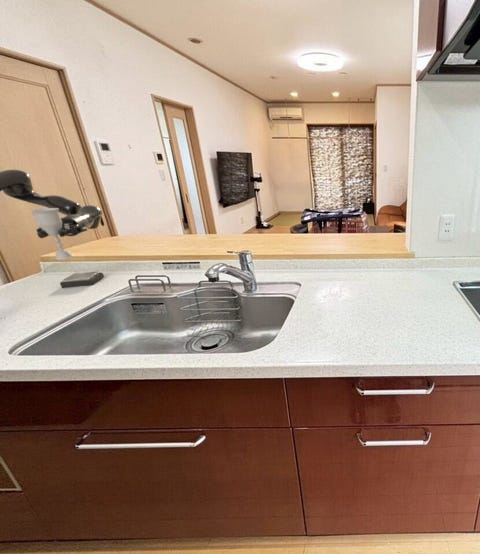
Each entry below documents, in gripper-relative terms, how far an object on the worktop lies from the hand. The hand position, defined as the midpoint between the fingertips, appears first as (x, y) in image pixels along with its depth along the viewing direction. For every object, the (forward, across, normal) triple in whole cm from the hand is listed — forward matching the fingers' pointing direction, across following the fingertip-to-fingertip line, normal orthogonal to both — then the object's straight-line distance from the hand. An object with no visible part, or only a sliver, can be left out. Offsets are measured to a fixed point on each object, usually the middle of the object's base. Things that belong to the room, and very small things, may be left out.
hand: (50, 234), depth 106 cm
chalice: (-3, 0, +10) cm, 10 cm away
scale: (-7, +1, +22) cm, 23 cm away
